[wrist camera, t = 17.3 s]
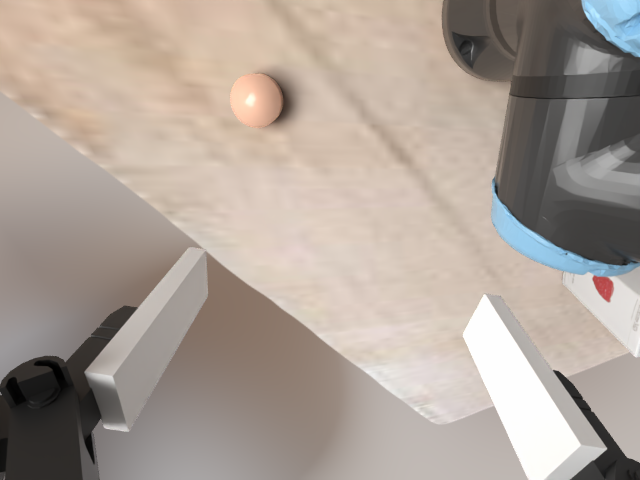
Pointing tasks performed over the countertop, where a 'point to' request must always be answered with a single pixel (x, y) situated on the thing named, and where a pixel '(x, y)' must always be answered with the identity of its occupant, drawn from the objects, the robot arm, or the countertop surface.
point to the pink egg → (256, 100)
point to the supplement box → (611, 303)
